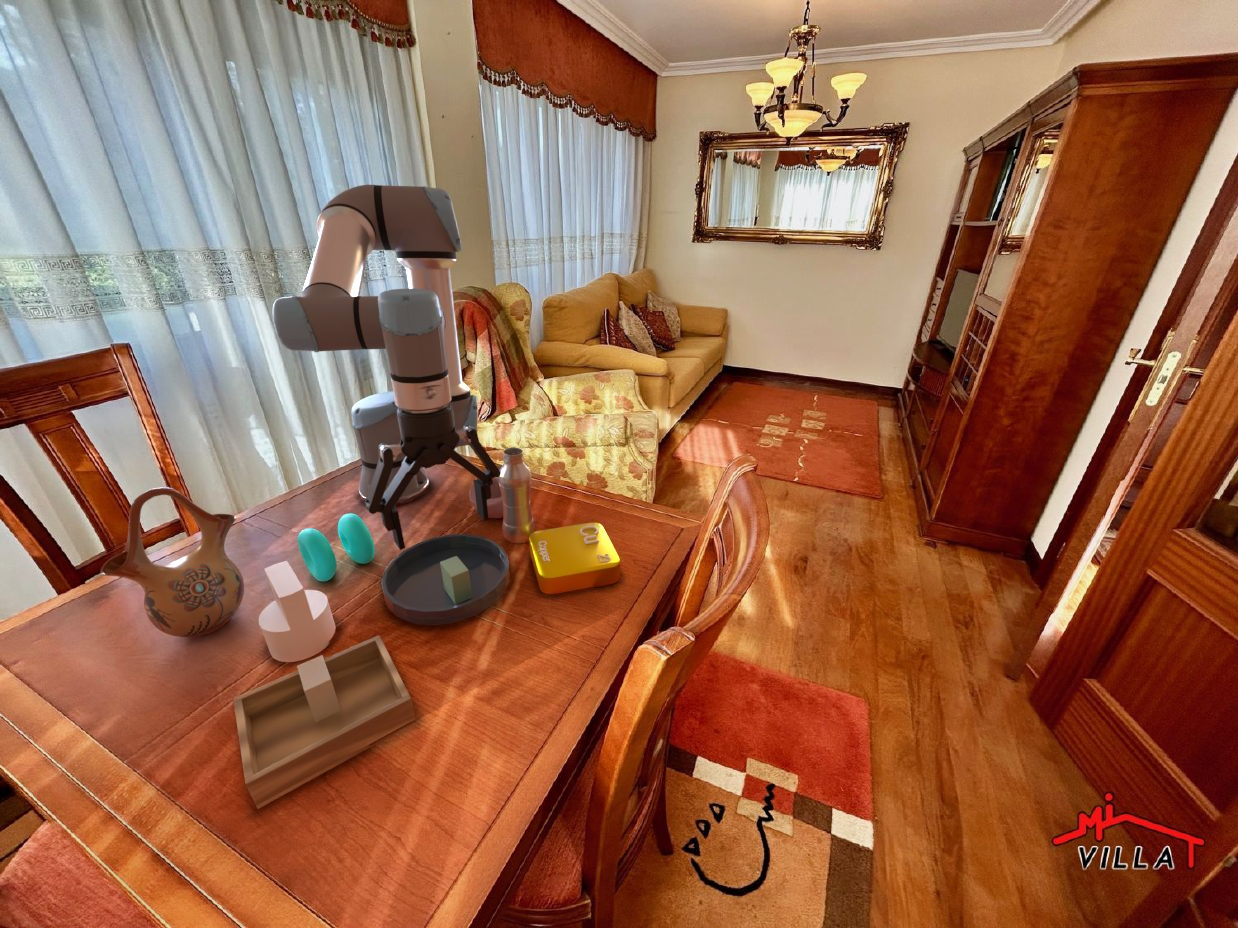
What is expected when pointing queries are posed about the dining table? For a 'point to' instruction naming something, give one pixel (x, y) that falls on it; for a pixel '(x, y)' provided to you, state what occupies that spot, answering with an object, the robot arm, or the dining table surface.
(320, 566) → the donuts
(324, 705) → the beige rectangular block
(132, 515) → the ceramic vessel
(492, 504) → the pink rounded hollow piece
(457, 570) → the green rectangular block
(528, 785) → the dining table surface
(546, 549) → the element tile
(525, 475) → the silver metal bottle
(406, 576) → the dark grey round tray
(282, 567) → the base with upright slab
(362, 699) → the holder
